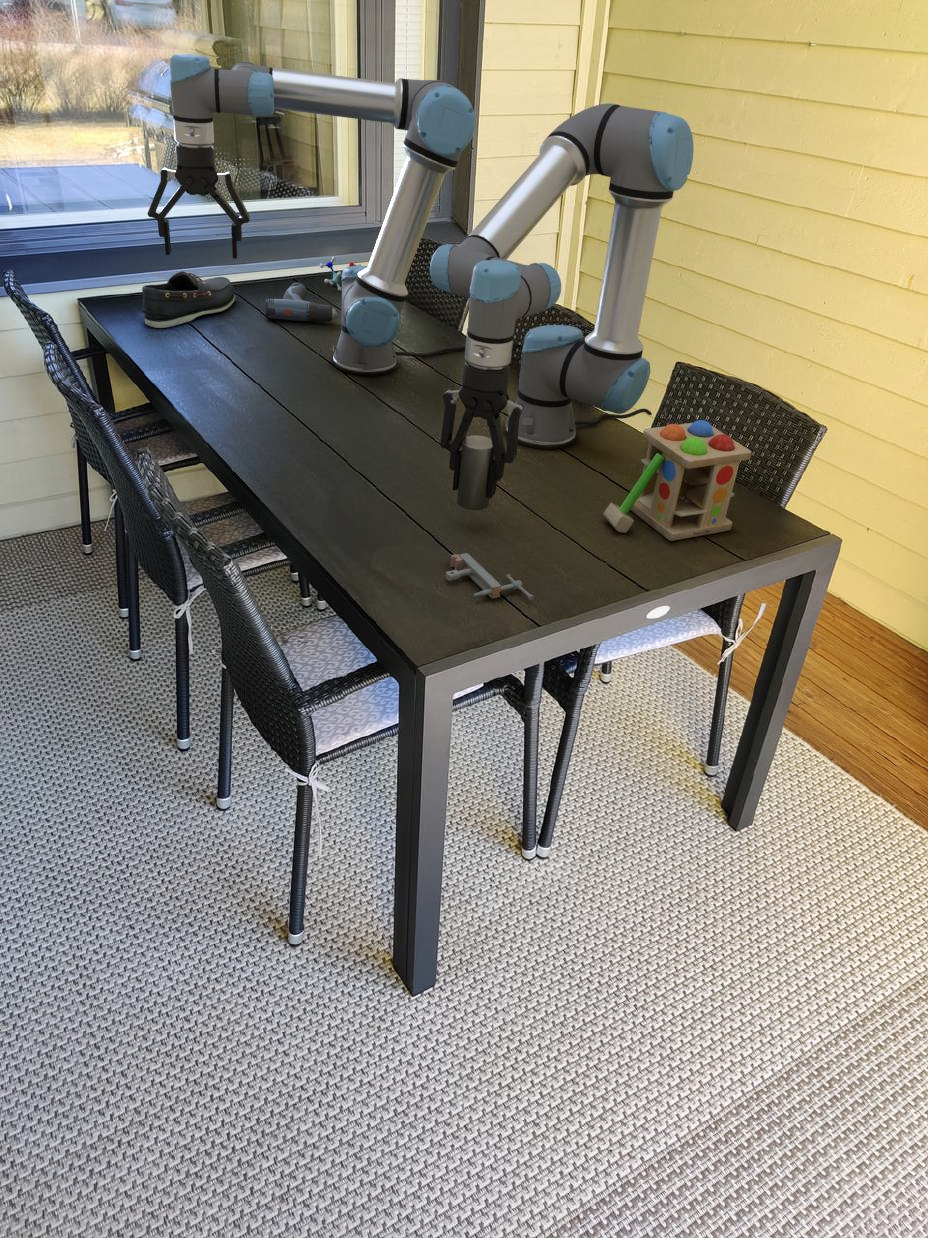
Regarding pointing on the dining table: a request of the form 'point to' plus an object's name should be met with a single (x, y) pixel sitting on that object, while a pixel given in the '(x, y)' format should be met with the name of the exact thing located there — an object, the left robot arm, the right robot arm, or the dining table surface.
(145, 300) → the boat shoe
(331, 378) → the dining table surface
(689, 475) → the pounding bench toy
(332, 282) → the molecular model
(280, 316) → the power drill
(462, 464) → the tin
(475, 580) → the clamp
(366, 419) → the dining table surface
